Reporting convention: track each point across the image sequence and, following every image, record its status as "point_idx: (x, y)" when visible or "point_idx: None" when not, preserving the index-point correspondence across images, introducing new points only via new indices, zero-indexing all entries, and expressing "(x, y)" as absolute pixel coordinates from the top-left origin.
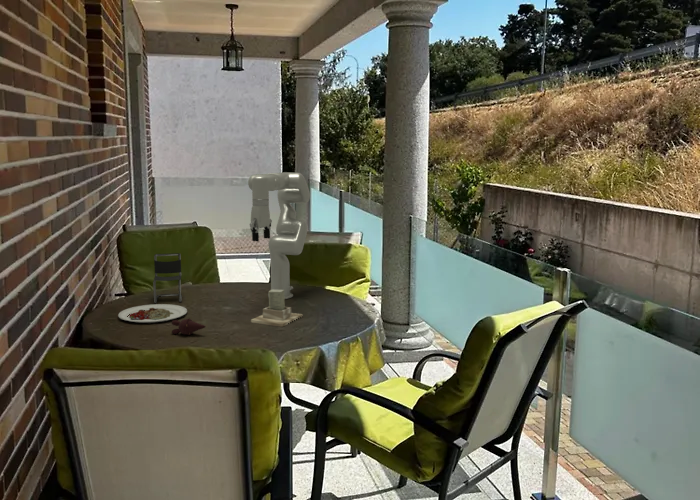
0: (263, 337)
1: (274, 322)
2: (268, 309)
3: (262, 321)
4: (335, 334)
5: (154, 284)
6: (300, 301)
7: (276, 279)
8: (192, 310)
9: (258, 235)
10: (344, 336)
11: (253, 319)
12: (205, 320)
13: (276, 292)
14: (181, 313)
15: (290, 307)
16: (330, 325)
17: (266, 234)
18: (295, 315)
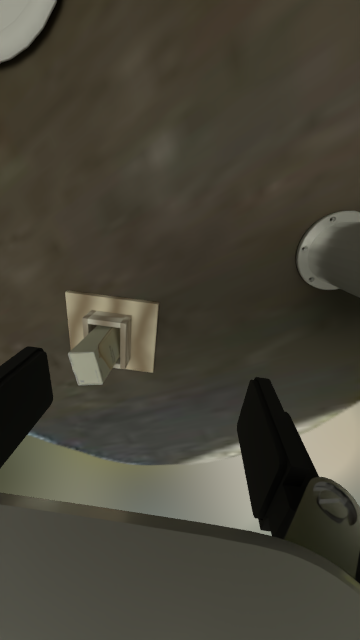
0: (4, 352)
1: (74, 344)
2: (85, 331)
3: (68, 320)
4: (82, 436)
5: None
6: (285, 323)
7: (338, 262)
8: (84, 32)
9: (4, 451)
10: (80, 447)
11: (70, 296)
12: (20, 167)
13: (75, 372)
14: (10, 33)
15: (124, 367)
16: (122, 421)
17: (251, 438)
18: (138, 363)
